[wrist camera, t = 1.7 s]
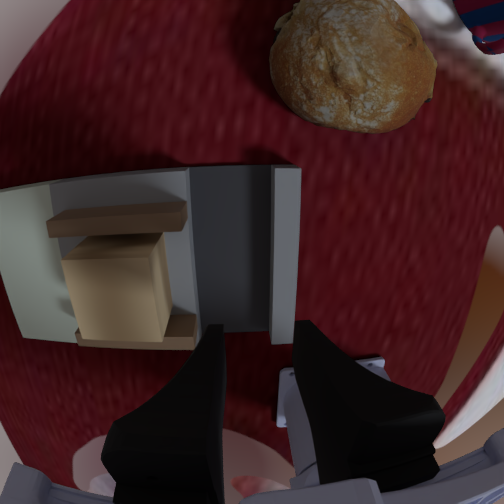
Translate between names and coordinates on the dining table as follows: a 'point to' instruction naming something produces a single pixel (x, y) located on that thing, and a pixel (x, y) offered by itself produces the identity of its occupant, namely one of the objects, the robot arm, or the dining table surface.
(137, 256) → the wooden block
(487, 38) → the mug
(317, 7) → the bread roll
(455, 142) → the dining table surface
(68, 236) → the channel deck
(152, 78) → the dining table surface
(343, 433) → the robot arm
